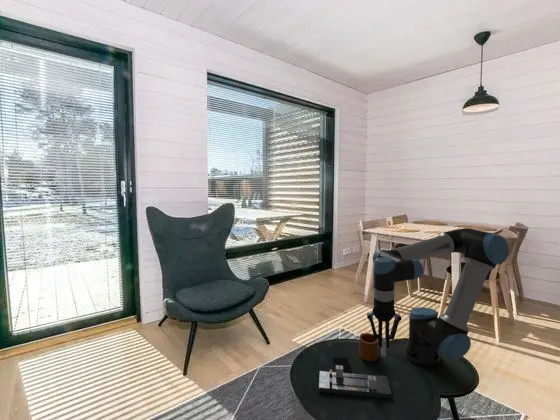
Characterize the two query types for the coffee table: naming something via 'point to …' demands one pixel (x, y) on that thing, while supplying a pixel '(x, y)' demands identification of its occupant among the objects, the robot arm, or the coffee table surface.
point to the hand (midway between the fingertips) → (383, 354)
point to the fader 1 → (339, 371)
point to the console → (353, 385)
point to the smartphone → (342, 364)
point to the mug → (368, 347)
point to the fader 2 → (372, 382)
